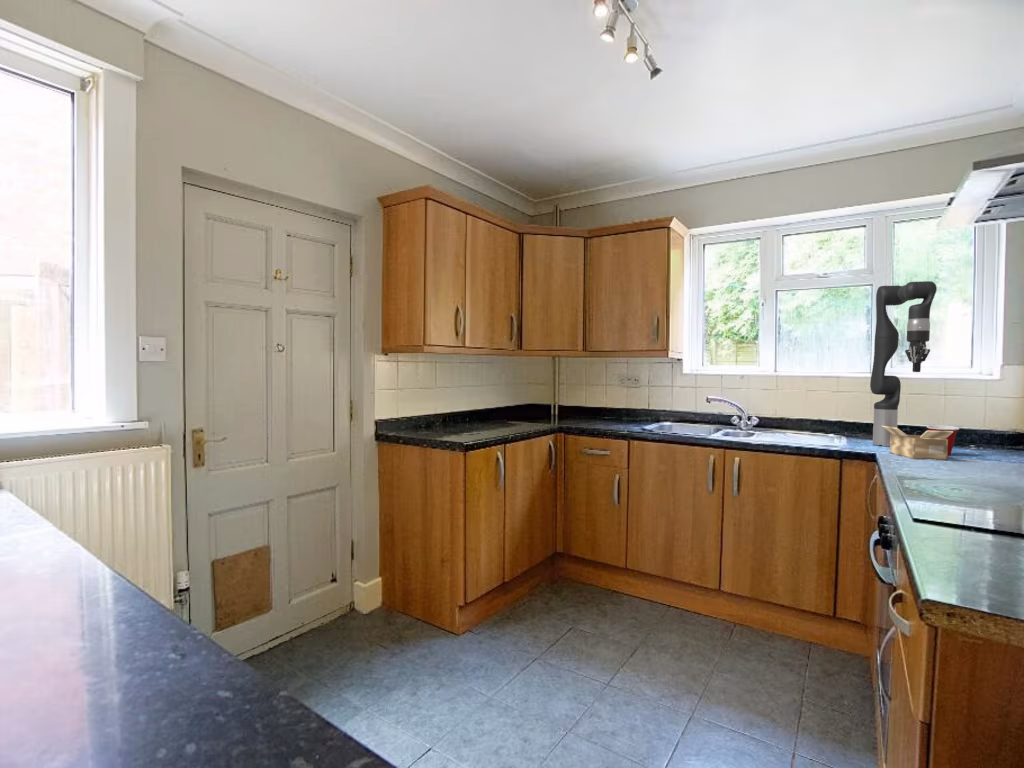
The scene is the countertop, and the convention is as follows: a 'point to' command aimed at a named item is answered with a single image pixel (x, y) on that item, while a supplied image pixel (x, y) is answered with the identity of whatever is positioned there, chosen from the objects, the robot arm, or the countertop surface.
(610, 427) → the countertop surface
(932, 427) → the plastic cup
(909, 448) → the carton
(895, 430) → the long flap
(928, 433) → the short flap
